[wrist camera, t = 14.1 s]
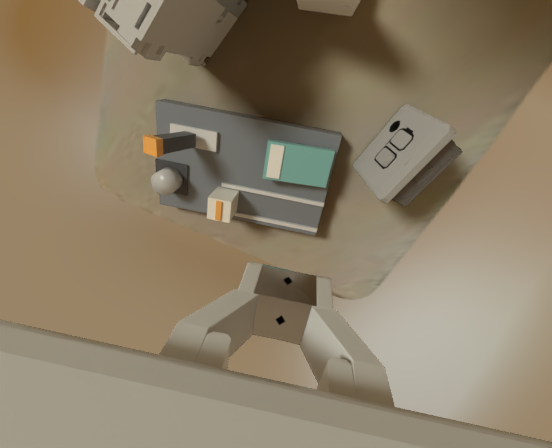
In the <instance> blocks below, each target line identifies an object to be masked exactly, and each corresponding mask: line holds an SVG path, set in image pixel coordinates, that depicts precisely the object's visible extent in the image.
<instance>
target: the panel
mask: <svg viewBox="0 0 552 448" xmlns="http://www.w3.org/2000/svg"><path fill="white" fill-rule="evenodd" d="M155 101H156V124H157V135H160V134H167V133H175V132H182V131H187V132H191V133H194V134H196V147H195V148H190V149H185V150H181V151H176V152H172V153H167V154H163V156H160V157H158V159H155V161H156V172H158V171H160V170H161V169H163V168H165V167H173V168H175V169H177V170H178V171H179V172H180V173H181V175H182V178H183V183H182V185H181V187H180V188H178V189H177V190H176V191H174V192H173V193H172V194H170V195H167V196H165V195H161V194H160V204H162V205H167V206H172V207H177V208H182V209H187V210H192V211H197V212H202V213H207V205H208V197H209V195H210V194H211V193H212V192H213V191H214V190H215V189H216V188H217V187H223V188H228V189H233V190H238V191H239V197H238V207H237V211H236V213H235V215H234V216H233V218H232V219H236V220H241V221H246V222H251V223H256V224H261V225H265V226H270V227H275V228H280V229H285V230H290V231H295V232H300V233H305V234H310V235H314V236H315V235H316V233H317V228H318V224H319V220H320V216H321V213H322V209H323V207H324V201H325V198H326V194H327V190H328V186H329V183H330V179H331V175H332V172H333V168H334V164H335V160H336V157H337V153H338V149H339V145H340V142H341V138H342V135H341V133H340V132H335V131H330V130H325V129H320V128H314V127H309V126H304V125H299V124H293V123H288V122H283V121H278V120H272V119H267V118H262V117H257V116H251V115H246V114H241V113H236V112H230V111H225V110H220V109H214V108H209V107H204V106H199V105H193V104H188V103H183V102H178V101H172V100H167V99H162V100H155ZM268 139H272V140H278V141H284V142H290V143H296V144H302V145H308V146H315V147H321V148H327V149H333V150H334V151H335V154H334V158H333V162H332V165H331V169H330V173H329V177H328V181H327V184H326V188H323V187H316V186H310V185H303V184H296V183H289V182H283V181H276V180H269V179H263V170H264V163H265V156H266V149H267V143H268Z"/></svg>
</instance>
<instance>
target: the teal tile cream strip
mask: <svg viewBox="0 0 552 448" xmlns="http://www.w3.org/2000/svg"><path fill="white" fill-rule="evenodd" d="M334 154H335V151H334V150H333V149H327V148H321V147H315V146H308V145H302V144H296V143H290V142H284V141H278V140H272V139H268V143H267V149H266V156H265V163H264V170H263V179H269V180H276V181H283V182H289V183H296V184H303V185H310V186H316V187H323V188H326V184H327V181H328V177H329V173H330V169H331V165H332V162H333V158H334Z"/></svg>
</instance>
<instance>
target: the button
mask: <svg viewBox="0 0 552 448" xmlns="http://www.w3.org/2000/svg"><path fill="white" fill-rule="evenodd" d="M182 183H183V178H182V175H181V173H180V172H179V171H178V170H177V169H175V168H173V167H165V168H163V169H161V170H160V171H158V172H156V173H155V174H153V176H152V178H151V184H152V187H153V188H154V190H155V191H156V192H157V193H159V194H161V195H165V196H167V195H170V194H172V193H173V192H174V191H176V190H177V189H178V188H180V187H181V185H182Z"/></svg>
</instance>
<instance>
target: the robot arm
mask: <svg viewBox="0 0 552 448" xmlns="http://www.w3.org/2000/svg"><path fill="white" fill-rule="evenodd" d="M252 335H257V336H262V337H268V338H273V339H277V340H282V341H286V342H290V343H294V344H298V345H300V347H301V349H302V351H303V353H304V355H305V357H306V360H307V362H308V363H309V366H310V368H311V370H312V372H313V374H314V376H315V378H316V380H317V382H318V387H317V389H311V388H307V387H302V386H297V385H293V384H289V383H284V382H280V381H275V380H271V379H266V378H261V377H257V376H253V375H248V374H243V373H239V372H234V371H230V370H227V368H228V360H229V357H230V356H231V355H232V354H233V353H234V352H236V351H237V350H238V349H239V347H241V346H242V345H243V344H244V343H245V342H246V341H247V340H248V339H249V338H250V337H251V336H252ZM0 448H552V442H550V441H545V440H541V439H536V438H532V437H527V436H523V435H518V434H514V433H509V432H505V431H500V430H496V429H491V428H487V427H482V426H478V425H473V424H469V423H464V422H459V421H455V420H451V419H446V418H442V417H437V416H433V415H428V414H424V413H419V412H415V411H410V410H405V409H401V408H397V407H394V402H393V398H392V394H391V390H390V387H389V382H388V378H387V374H386V370H385V367H384V366H383V365H382V363H381V362H380V361H379V360H378V359H377V357H376V356H375V355H374V354H373V353H372V352H371V350H370V349H369V348H368V347H367V346H366V344H365V343H364V342H363V341H362V340H361V338H360V337H359V336H358V335H357V334H356V333H355V331H354V330H353V329H352V328H351V327H350V326H349V324H348V323H347V322H346V321H345V319H344V318H343V317H342V316H341V315H340V314H339V312H338V311H335V310H333V301H332V289H331V279H330V278H328V277H323V276H317V275H316V276H314V275H309V274H304V273H300V272H295V271H290V270H286V269H282V268H278V267H273V266H269V265H264V264H263V265H262V264H260V263H255V262H250V261H249V262H248V264H247V267H246V269H245V272H244V275H243V277H242V280H241V283H240V286H239V288H238V290H235V289H234V290H232V291H230V292H228V293H226V294H225V295H223V296H222V297H220V298H218V299H216V300H215V301H213V302H212V303H210V304H208V305H206V306H204V307H203V308H201V309H200V310H198V311H196V312H194V313H192V314H191V315H189V316H187V317H186V318H184V319H182V320H181V321H179V322H178V323H177V325H176V326H175V328H174V330H173V331H172V333H171V335H170V337H169V338H168V340H167V342H166V344H165V345H164V347H163V349H162V351H161V352H160V354H159V355H158V354H153V353H149V352H144V351H140V350H135V349H131V348H127V347H122V346H118V345H113V344H108V343H104V342H99V341H95V340H90V339H86V338H81V337H77V336H72V335H68V334H63V333H59V332H54V331H50V330H45V329H41V328H36V327H32V326H27V325H23V324H18V323H13V322H9V321H4V320H0Z"/></svg>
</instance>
